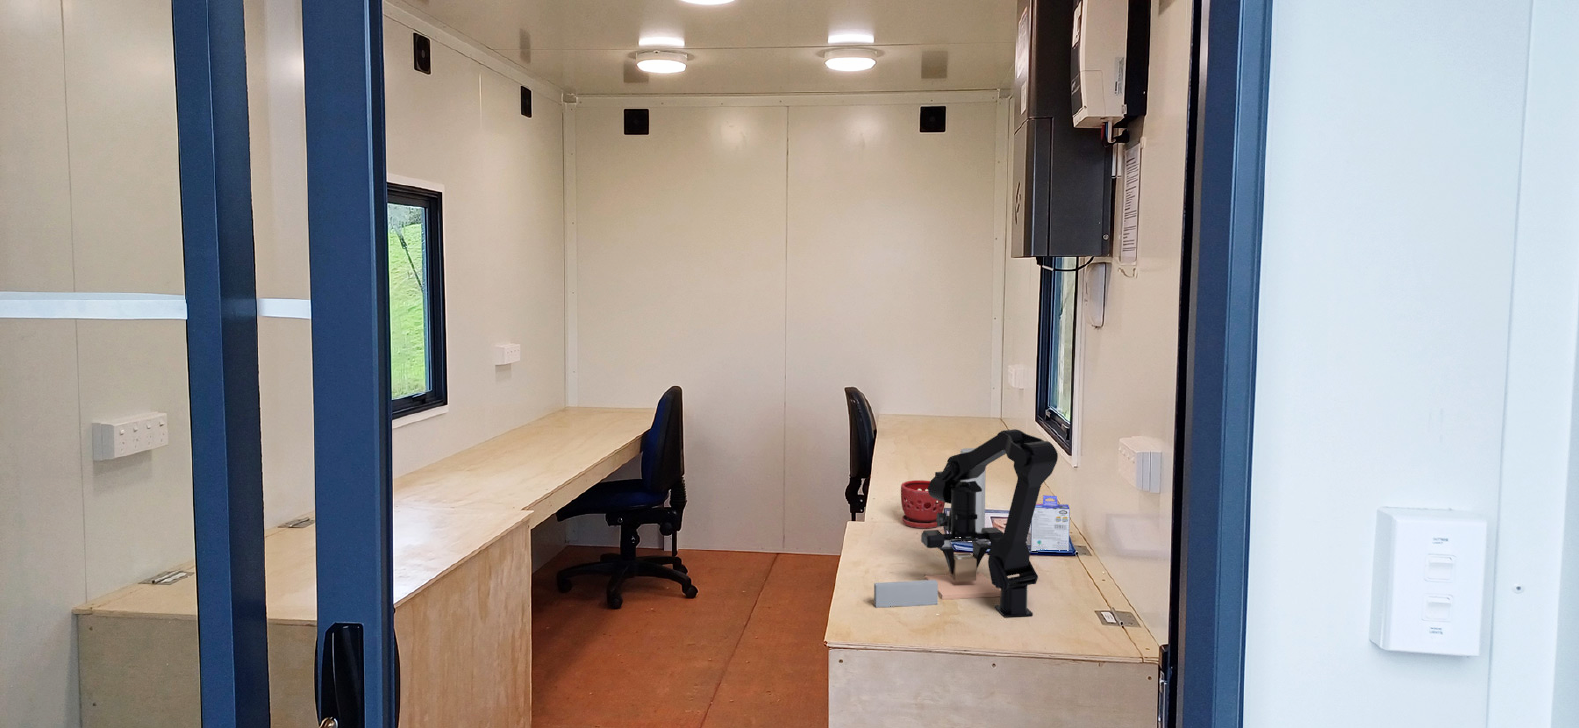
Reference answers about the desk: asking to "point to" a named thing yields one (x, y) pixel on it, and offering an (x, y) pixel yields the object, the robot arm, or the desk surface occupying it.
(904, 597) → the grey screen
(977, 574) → the mat
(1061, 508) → the ink cartridge box
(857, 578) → the desk surface
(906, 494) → the plant pot
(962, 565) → the walnut cube
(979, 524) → the water bottle
